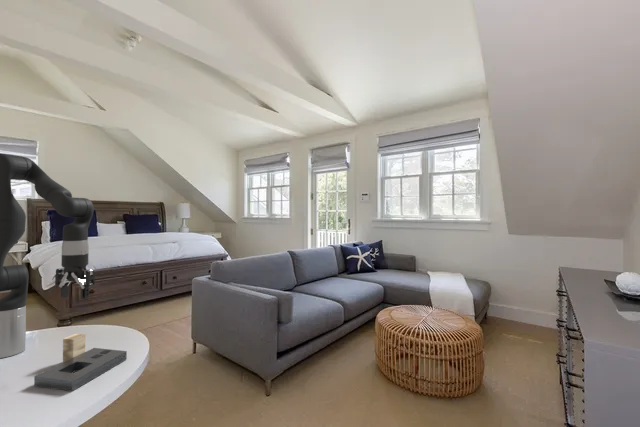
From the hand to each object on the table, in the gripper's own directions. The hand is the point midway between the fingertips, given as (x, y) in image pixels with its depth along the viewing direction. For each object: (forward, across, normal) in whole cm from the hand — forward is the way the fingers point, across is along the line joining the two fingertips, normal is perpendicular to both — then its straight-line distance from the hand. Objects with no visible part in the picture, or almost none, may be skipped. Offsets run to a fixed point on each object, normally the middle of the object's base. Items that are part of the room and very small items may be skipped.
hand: (74, 297), depth 107 cm
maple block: (+23, 0, 0) cm, 23 cm away
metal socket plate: (+23, +10, -5) cm, 25 cm away
